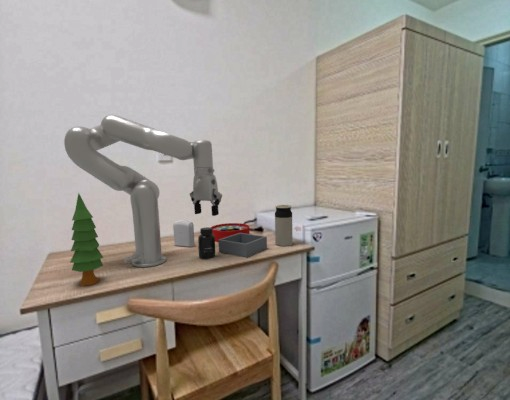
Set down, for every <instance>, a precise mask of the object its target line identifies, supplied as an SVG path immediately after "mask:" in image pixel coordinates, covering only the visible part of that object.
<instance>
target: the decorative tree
mask: <svg viewBox="0 0 510 400" xmlns="http://www.w3.org/2000/svg"><path fill="white" fill-rule="evenodd" d="M93 218H94V217H93V215H92V214H91V212H90V211H89V210H88V208H87V205H86V204H85V203H84V200H83V199H82V196H81V194H80V192H78V194H77V199H76V205H75V210H74V213H73V216H72V219H71V221H73V223H72V227H71V231H73V233H72V237H71V241H74V242H73V244H72V247H71V249H70V252H74V253H73V255H72V256H71V257H72V258H71V259H70V261H69V262H70V263H73V265H72V269H71V271H74V272H78V273H82V275H81V280H80V282H79V285H80V286H82V287H83V286H92V285H95V284H96V283H98V282H99V281H100V278H98V277H97V276H96V274H95V270H97V269H99V268H101V267H103V266H104V265H103V262H102V261H101V259H104V256H103V254H102V252H101V251H100V250H99V249H98V248H99V246H100V243H99V242H98V240H97V239H96V238H99V236H98V234H97V232H96V230H95V229H96V228H97V227H96V225H95V222H94V221H93Z"/></svg>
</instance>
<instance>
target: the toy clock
mask: <svg viewBox="0 0 510 400" xmlns="http://www.w3.org/2000/svg"><path fill="white" fill-rule="evenodd" d="M210 228H212V232H213V233H212V234H213V235H214V236H215V243H218V240H219V239H222V238H225V237H229V236H232V235H235V234H238V233H245V234H251V233H250V225H249V224H246V223H238V222H236V223H235V222H234V223H233V222H227V223H220V224H215V225H212V226H211V227H210Z"/></svg>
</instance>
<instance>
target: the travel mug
mask: <svg viewBox="0 0 510 400" xmlns="http://www.w3.org/2000/svg"><path fill="white" fill-rule="evenodd" d="M275 209H276V210H275V212H274V235H275V236H274V237H275V238H274V239H275V240H274V241H275V242H274V243H275V245H276V246H280V247H289V246H292V245H293V244H294V243H293V242H294V241H293V212H292V205H290V204H278V205H275Z"/></svg>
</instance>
